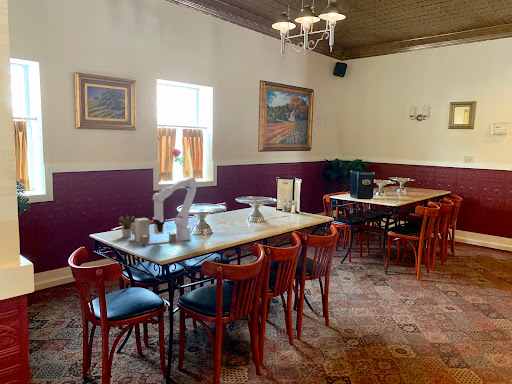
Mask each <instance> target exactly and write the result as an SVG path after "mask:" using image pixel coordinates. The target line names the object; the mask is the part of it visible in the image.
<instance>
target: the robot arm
mask: <svg viewBox="0 0 512 384" xmlns="http://www.w3.org/2000/svg"><path fill="white" fill-rule="evenodd" d="M181 187H184V188H185V189H186V191H187V192H186V195H185V199H184V201H183V204H182V207H181V210H180V212H179V213H178V214H177V216H175V218H174V220H173V222H174V225H175V229H176V230H175V232H176V233H175V234H176V240H177V242H181V241H182V242H183V241H189V240H191V227H190V226H189V223H190V222H189V220H190V217H189V212H190V210H191V207H192V204H193V202H194V198H195V195H196V192H197V180H196V178H194V177H189V176H188V177H187V176H184V177H183V178H179V180H178V181H177V182H175V183H174V184H173V185H171V186H165V187H164V188H163V189H161V190H159V191H158V192H155V193H153V196H152V201H153V205H154V206H153V213H154V214H153V215H154V216H153V217H152V221H153V225H154V224H157V228H158V232H162V228H163V229H164V224H165V221H164V201H165V199H167V198H168V197H169V196H171V195H172V194H173V193H174V191H176V190H178V189H180V188H181Z"/></svg>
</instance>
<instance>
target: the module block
mask: <svg viewBox="0 0 512 384" xmlns="http://www.w3.org/2000/svg"><path fill="white" fill-rule="evenodd" d="M153 229H154V230H153V233H154V234H155V235H161V234H164V227H163V228H162V232H158V228H157V224H154V223H153Z"/></svg>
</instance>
